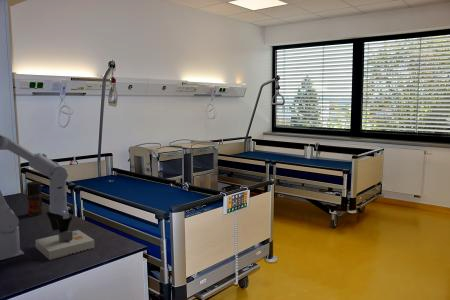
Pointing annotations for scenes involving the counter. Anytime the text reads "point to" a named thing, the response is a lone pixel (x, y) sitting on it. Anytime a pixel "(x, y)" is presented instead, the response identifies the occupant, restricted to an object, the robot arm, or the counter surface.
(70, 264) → the counter surface
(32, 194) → the deodorant
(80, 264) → the counter surface
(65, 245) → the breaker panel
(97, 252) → the counter surface
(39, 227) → the counter surface
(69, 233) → the handle
